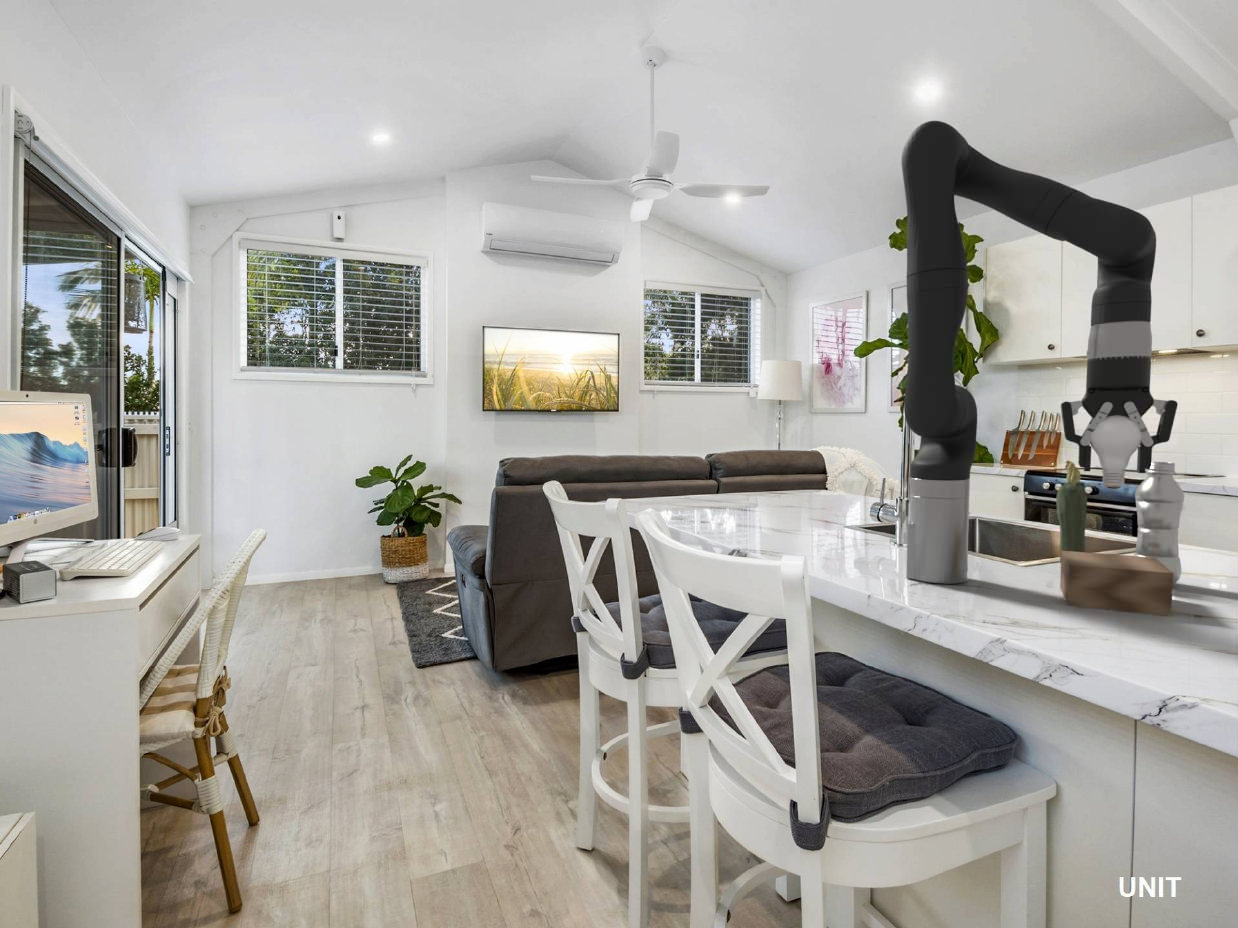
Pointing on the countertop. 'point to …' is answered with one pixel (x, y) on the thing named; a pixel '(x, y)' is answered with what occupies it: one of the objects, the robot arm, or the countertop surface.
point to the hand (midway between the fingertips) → (1113, 471)
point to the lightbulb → (1115, 447)
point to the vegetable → (1072, 511)
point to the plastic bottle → (1160, 516)
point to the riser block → (1116, 582)
